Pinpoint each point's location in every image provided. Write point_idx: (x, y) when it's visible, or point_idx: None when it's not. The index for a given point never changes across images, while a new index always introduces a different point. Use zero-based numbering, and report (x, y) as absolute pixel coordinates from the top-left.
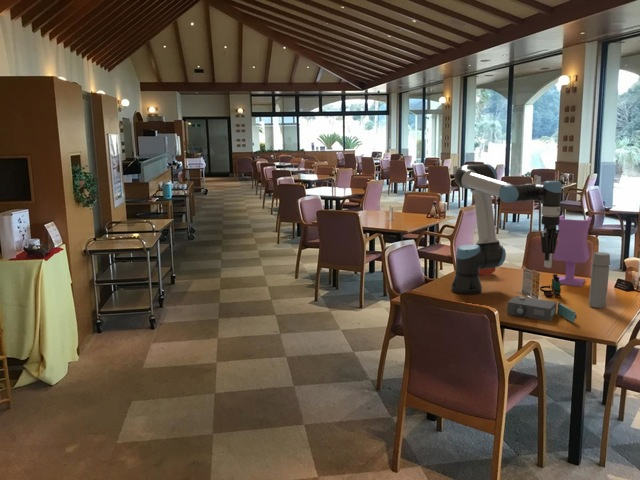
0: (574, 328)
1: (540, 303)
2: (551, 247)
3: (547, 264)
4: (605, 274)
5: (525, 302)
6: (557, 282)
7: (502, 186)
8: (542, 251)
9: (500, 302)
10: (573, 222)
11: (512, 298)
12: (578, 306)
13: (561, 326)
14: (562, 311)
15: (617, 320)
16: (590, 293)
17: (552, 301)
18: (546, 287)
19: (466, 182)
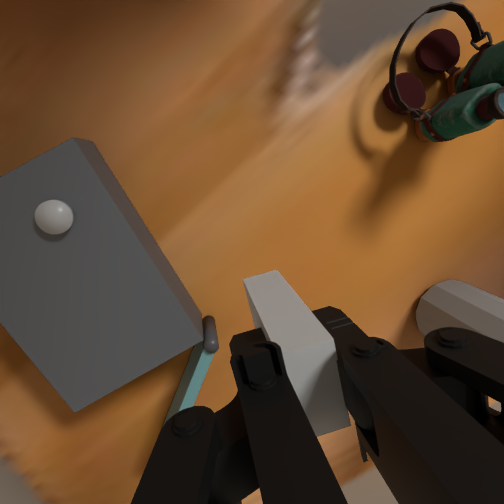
0: (120, 470)
1: (99, 324)
2: (397, 496)
3: (257, 326)
4: None
5: (27, 275)
6: (469, 124)
7: None
8: (164, 436)
9: (77, 19)
10: None
11: (7, 173)
12: (380, 274)
13: (89, 438)
14: (189, 369)
15: (345, 456)
16: (457, 319)
17: (190, 322)
18: (467, 22)
19: None
